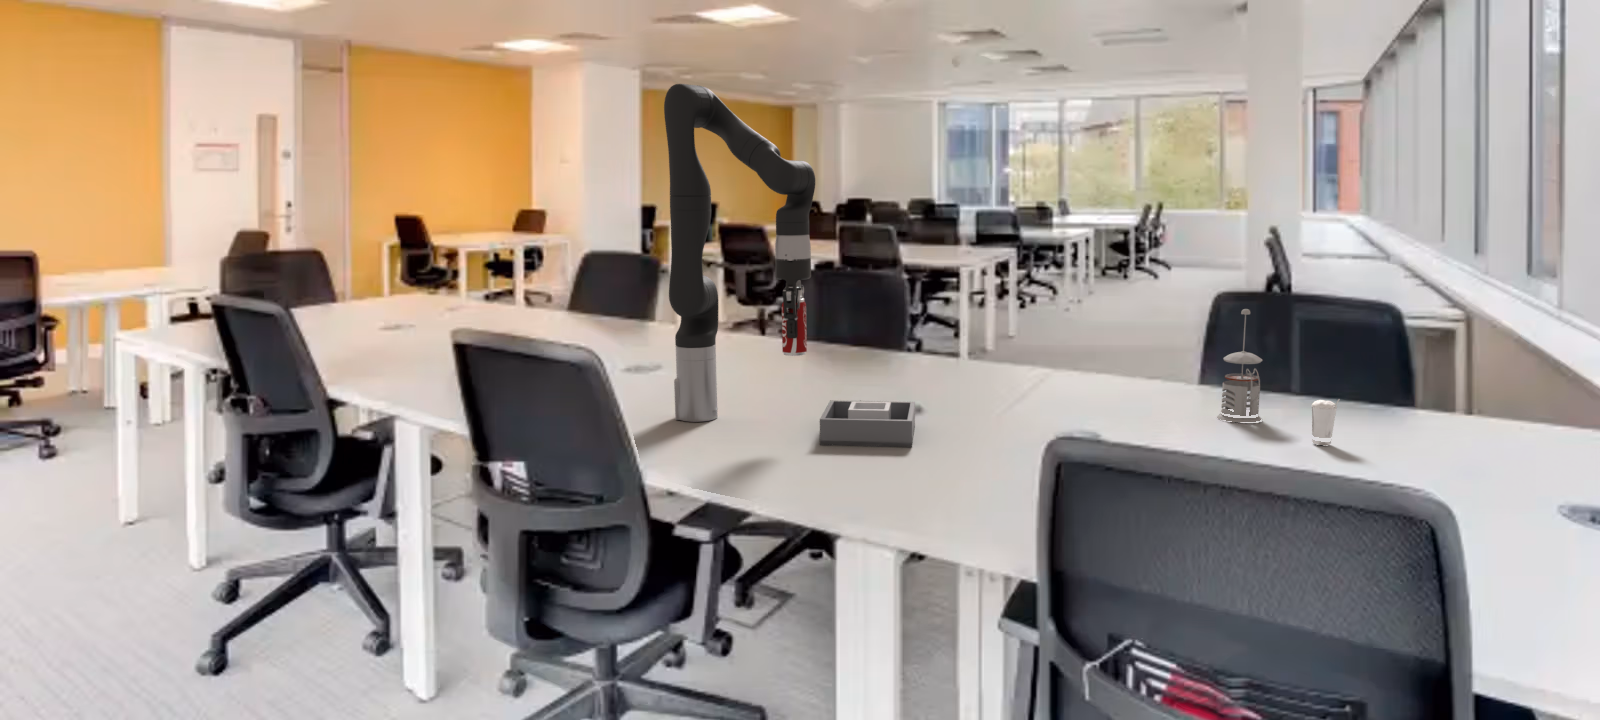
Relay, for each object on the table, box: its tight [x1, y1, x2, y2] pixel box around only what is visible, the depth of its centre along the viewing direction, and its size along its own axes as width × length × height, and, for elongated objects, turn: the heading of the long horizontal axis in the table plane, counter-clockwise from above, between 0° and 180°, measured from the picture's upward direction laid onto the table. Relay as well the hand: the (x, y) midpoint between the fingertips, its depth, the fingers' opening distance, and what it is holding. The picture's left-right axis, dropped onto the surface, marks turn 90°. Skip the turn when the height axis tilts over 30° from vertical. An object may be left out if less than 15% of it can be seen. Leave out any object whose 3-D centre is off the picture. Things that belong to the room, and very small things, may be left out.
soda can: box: [781, 298, 808, 357], centre depth 220 cm, size 5×5×12 cm
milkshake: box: [1311, 398, 1340, 446], centre depth 207 cm, size 4×5×10 cm
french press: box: [1216, 308, 1263, 422], centre depth 229 cm, size 10×12×25 cm
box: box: [819, 399, 916, 448], centre depth 221 cm, size 19×19×6 cm
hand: (794, 335), depth 220 cm, fingers closed on soda can, 5 cm apart
